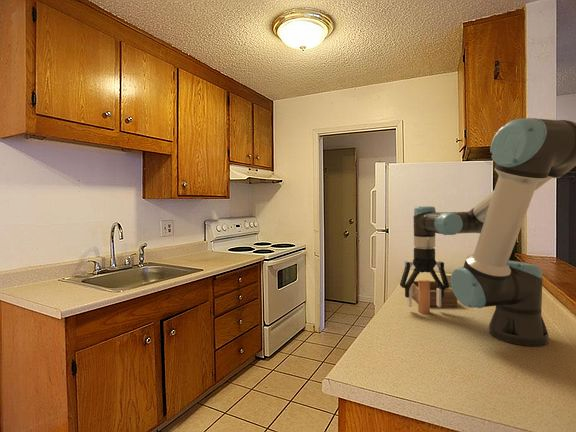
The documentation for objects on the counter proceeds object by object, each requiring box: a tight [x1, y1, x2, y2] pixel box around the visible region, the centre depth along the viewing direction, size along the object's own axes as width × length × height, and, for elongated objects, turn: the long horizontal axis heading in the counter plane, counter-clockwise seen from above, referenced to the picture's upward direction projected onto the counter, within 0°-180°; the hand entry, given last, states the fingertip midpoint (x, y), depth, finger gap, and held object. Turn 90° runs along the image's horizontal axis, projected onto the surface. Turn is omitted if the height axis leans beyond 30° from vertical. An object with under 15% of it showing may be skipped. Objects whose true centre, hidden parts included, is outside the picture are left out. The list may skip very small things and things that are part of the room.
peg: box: [417, 279, 431, 315], centre depth 127 cm, size 4×4×12 cm
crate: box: [410, 280, 458, 308], centre depth 142 cm, size 18×14×6 cm
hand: (424, 306), depth 127 cm, fingers open, 10 cm apart
